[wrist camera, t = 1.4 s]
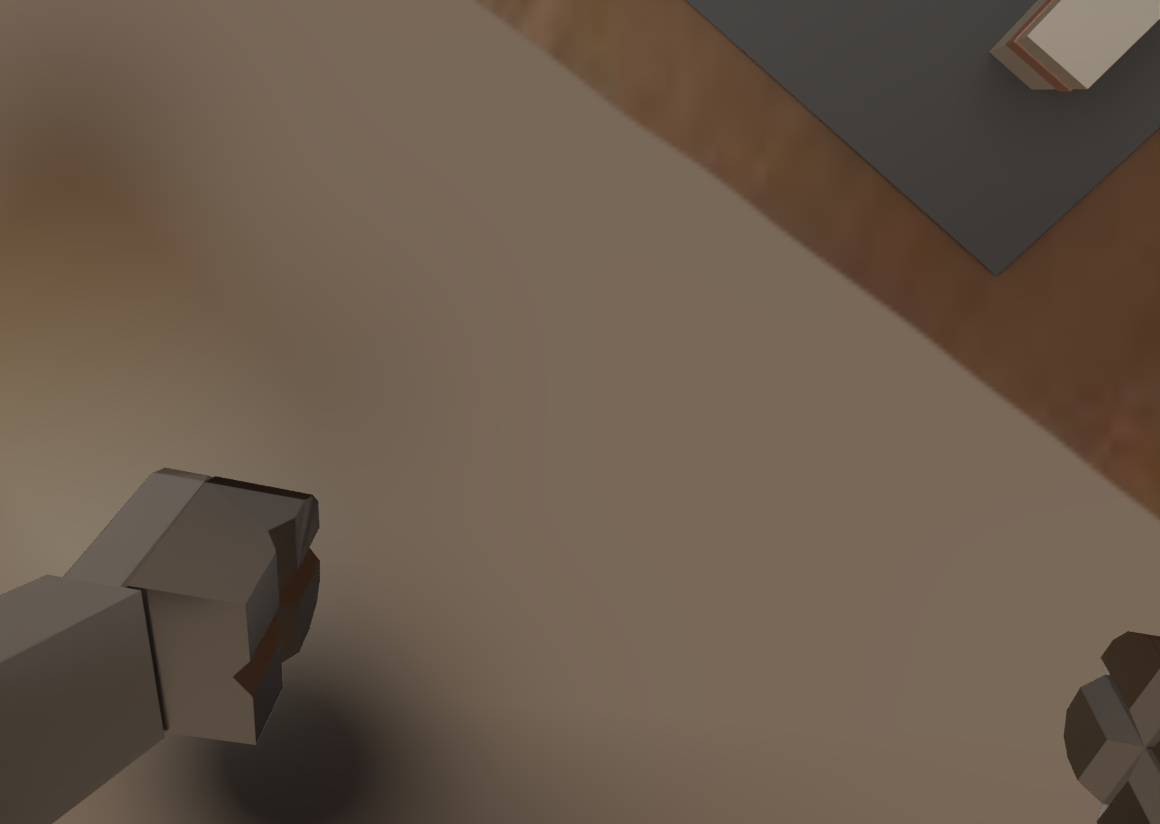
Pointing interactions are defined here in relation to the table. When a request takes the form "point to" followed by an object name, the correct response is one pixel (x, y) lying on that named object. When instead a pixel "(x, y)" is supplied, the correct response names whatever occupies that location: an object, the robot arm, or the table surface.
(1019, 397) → the table surface
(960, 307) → the table surface
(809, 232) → the table surface
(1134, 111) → the mat
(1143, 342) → the table surface
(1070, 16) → the card box
